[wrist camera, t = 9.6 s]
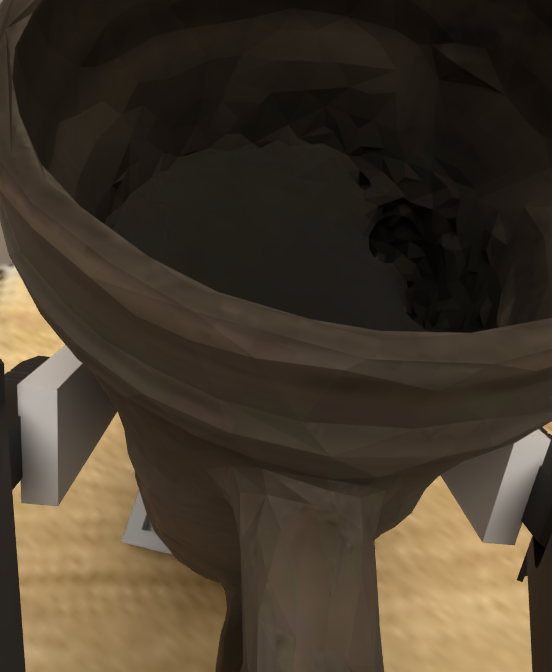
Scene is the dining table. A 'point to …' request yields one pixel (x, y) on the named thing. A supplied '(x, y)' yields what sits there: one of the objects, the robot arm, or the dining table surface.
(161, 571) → the dining table surface
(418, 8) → the beer stein
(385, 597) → the dining table surface
